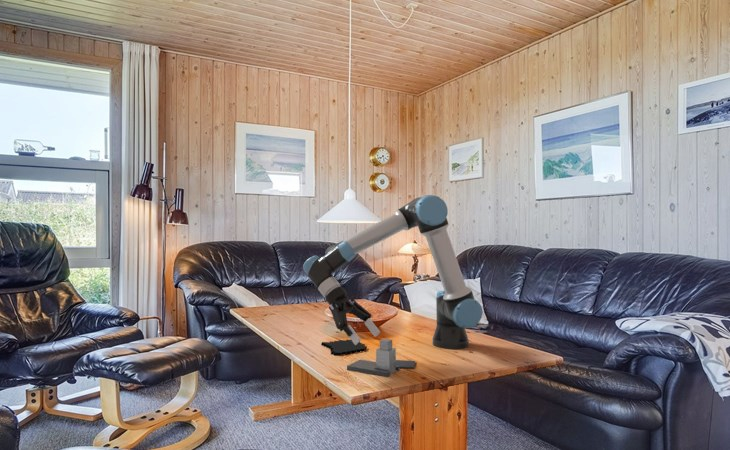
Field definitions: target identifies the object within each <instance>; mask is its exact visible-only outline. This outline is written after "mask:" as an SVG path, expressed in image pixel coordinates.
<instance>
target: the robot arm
mask: <svg viewBox="0 0 730 450" xmlns="http://www.w3.org/2000/svg"><path fill="white" fill-rule="evenodd" d="M448 210H449V209H448V205H447V203H446V202H445V200H443V198H441V197H440V196H437V195H434V194H426V195H423V196H419V197H416V198H414V199H412V200H411V201H409V202H408V203H406V204H405V205H403V206H401V207H400V208H397V209H396V210H395V213H393V214H392V215H390V216H387V217H386V218H384V219H382V220H380V221H378V222H376V223H374V224H372V225H370V226H368V227H366V228H364V229H361V231H359V232H356V233H355V234H353V235H351V236H348V237H347V238H344V239H343V240H341V241H339V242H337V243H335V244H332V245H330V246H328V247H327V249H326V250H325V252H324V253H325V255H323V256H321V257H319V256H318V255H313V256H311V257H309V258H308V259H306V260H305V262H304V263H303V265H302V268H303V271H304V272H305V274H306V275H307V277H308V278H309V280H310V281H311V282H312V283H313V285H314V286H315V288H316V289H317V290H318V291H319V292H320V294H321V295H322V296H323V298H325V301H326V302H327V304H328V305H329V306H328V309H329V310H330V312H331V316H332V317H333V321H334V324H335V326H336V328H337V330H339V331H340V332H342V331H343V332H345V335H347V337H348V338H349V340H352V342H353V343H354V344H355V345H357V344H358V343H359V342H360V343H361V341H362V339H361V337H360V336H359V334H357V332H356V331H355V330H354V328H353V327H352V326H351V324H349V323H348V318H347V314H349V315H351V314H352V315H353V316H355V317H356V318H358V319H359V320H361V321H363V322H364V325H365V327H366V328H367V329H368V330H369V331H370V333H371V334H372V336H374V338H376V337H378V335H380V334H381V331H380V329H379V328H378V327H377V326H376V324H375V323H374V322H373V320H372V319H371V317H372V314H371V312H369V311H368V310H367V309H365V308H364V307H363V306H362V305H361V304H359V303H358V302H357V301H356V300H355V298H353V297H351V298H350V299H349V298H347V296H348V293H347V291H346V290H345V289H344V287H343V286H341V283H340V282H339V281H338V280H337V279H336V277H335V276H334V275H333V274H334V273H336V272H337V271H339V270H340V269H341V268H342V267H344V266H345V265H346V264H348V263H349V262H351V261H352V260H353V259H354V258H355V257H356V255H357V254H359V253H361V252H363V251H365V250H367V249H369V248H371V247H373V246H375V245H376V244H379V243H380V242H382V241H384V240H386V239H388V238H390V237H392V236H394V235H396V234H398V233H400V232H402V231H409V230H411V229H413V228H418V230H419V234H420V235H422V236H424V237H425V239H426V242H427V245H428V248H429V251H430V252H431V257H432V258H433V262H434V264H435V268H436V270H437V273H438V276H439V278H440V279H439V280H440V281H441V285H442V287H443V290H438V291H437V292H436V298H435V302H436V306H435V307H436V327H435V329H434V333H433V336H432V345H433V346H434V347H437V348H441V349H442V348H443V349H450V350H451V349H452V350H454V349H455V350H456V349H458V350H459V349H465V348H468V347H469V346H470V345H469V337H468V334H467V332H466V331H467V330H466V329H471V328H473V327H476V326H477V325H478V324H479V323H480V322H481V319H482V317H483V307H482V305H481V304H480V302H479V301H477V300H476V299H475V295H474V293H473V290H472V288H470V287H469V286H467V284H466V281H465V280H464V276H463V274H462V271H461V268H460V265H459V261H458V259H457V256H456V253H455V251H454V248H453V244H452V242H451V239H450V236H449V233H448V227H449V225H450V224H449V221H448V219H447V217H448Z"/></svg>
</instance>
